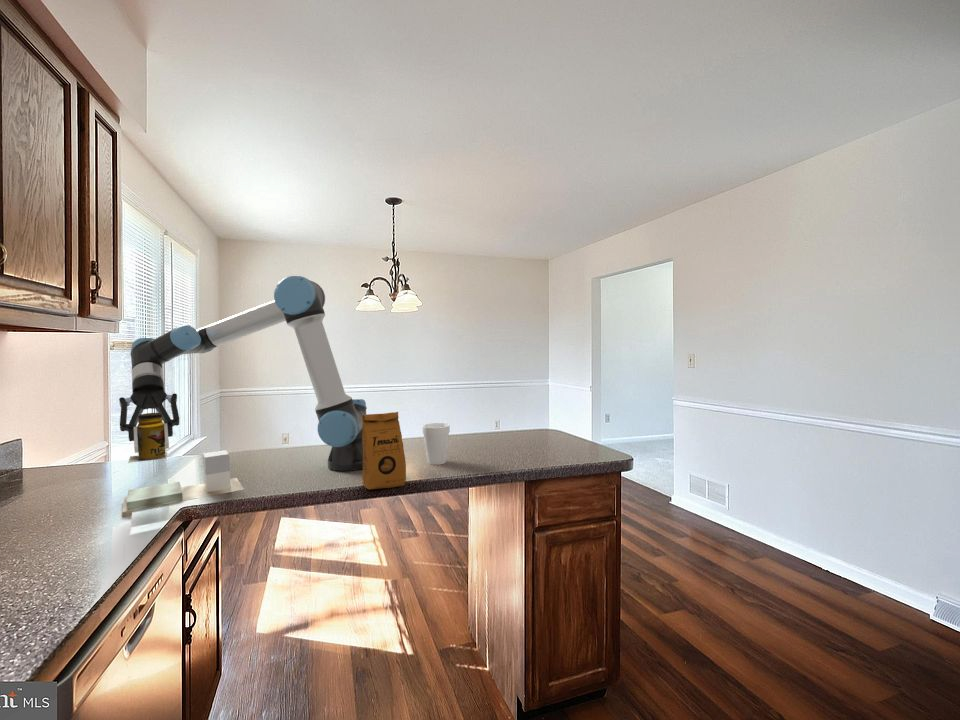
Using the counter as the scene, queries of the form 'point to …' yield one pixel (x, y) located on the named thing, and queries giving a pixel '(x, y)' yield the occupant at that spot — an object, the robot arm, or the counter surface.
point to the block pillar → (216, 470)
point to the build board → (192, 494)
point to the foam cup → (436, 442)
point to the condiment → (150, 438)
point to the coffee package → (383, 451)
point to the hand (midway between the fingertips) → (152, 447)
